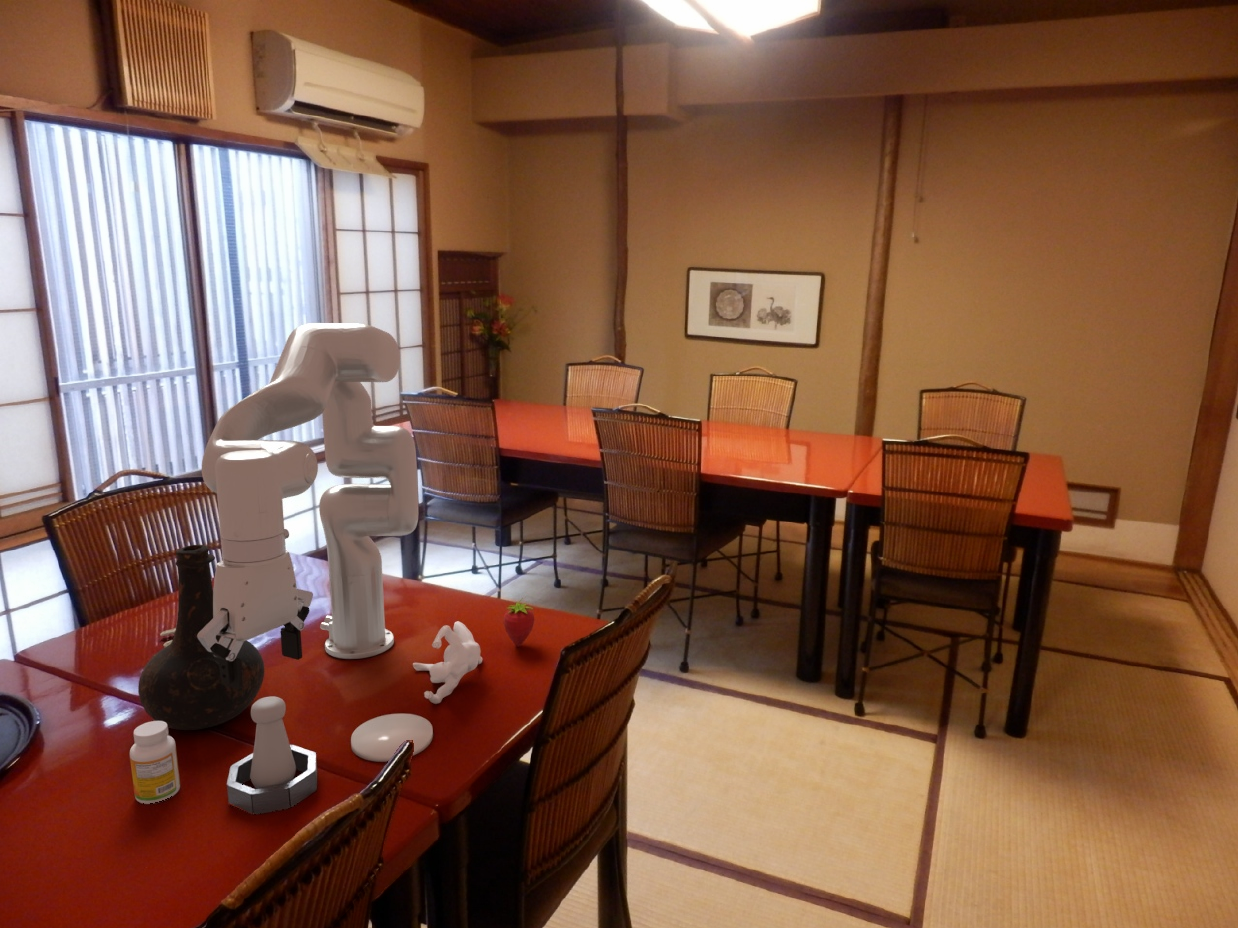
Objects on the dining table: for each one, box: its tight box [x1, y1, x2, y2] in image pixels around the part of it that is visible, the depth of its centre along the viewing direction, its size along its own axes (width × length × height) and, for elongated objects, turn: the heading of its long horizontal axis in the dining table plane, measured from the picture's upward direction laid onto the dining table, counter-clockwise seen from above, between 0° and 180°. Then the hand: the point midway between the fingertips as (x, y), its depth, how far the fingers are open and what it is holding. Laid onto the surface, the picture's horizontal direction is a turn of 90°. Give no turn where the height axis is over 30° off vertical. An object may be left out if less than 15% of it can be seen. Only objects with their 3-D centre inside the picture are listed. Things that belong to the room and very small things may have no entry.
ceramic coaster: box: [350, 713, 434, 763], centre depth 126 cm, size 12×12×1 cm
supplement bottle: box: [129, 720, 181, 805], centre depth 111 cm, size 5×5×10 cm
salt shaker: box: [250, 696, 297, 789], centre depth 112 cm, size 6×6×13 cm
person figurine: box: [412, 620, 483, 705], centre depth 143 cm, size 13×13×18 cm
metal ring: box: [226, 744, 318, 815], centre depth 113 cm, size 11×11×3 cm
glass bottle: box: [137, 544, 266, 731], centre depth 129 cm, size 18×18×28 cm
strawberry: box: [503, 598, 535, 648], centre depth 158 cm, size 6×8×10 cm
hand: (263, 671), depth 110 cm, fingers open, 9 cm apart
